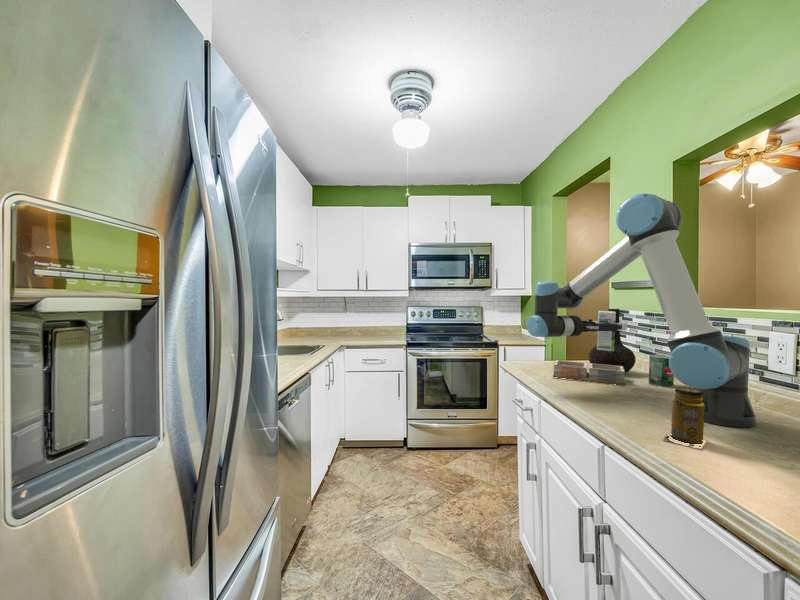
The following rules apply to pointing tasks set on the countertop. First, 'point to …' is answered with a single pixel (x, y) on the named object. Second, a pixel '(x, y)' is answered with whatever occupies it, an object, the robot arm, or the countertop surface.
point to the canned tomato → (660, 371)
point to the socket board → (590, 372)
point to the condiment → (687, 416)
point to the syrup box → (606, 337)
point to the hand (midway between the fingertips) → (615, 325)
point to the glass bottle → (614, 352)
